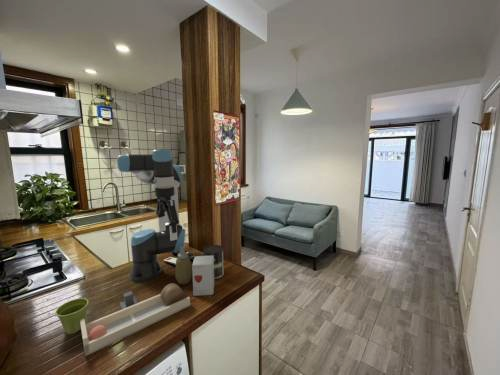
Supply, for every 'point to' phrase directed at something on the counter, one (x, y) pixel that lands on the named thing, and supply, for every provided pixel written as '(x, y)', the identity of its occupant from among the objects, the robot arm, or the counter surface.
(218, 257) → the coffee can
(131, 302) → the tee
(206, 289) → the supplement box
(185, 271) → the squeeze bottle
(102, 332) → the ball
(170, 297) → the hump
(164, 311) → the tray
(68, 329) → the plant pot
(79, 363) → the counter surface
